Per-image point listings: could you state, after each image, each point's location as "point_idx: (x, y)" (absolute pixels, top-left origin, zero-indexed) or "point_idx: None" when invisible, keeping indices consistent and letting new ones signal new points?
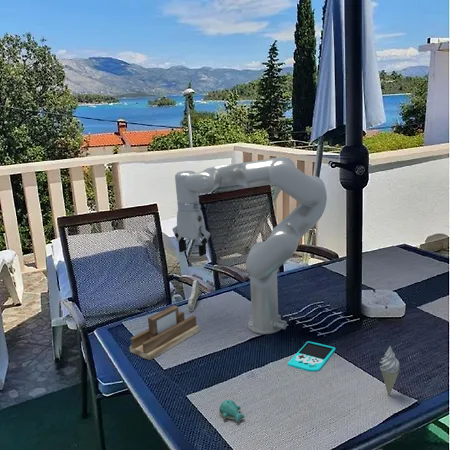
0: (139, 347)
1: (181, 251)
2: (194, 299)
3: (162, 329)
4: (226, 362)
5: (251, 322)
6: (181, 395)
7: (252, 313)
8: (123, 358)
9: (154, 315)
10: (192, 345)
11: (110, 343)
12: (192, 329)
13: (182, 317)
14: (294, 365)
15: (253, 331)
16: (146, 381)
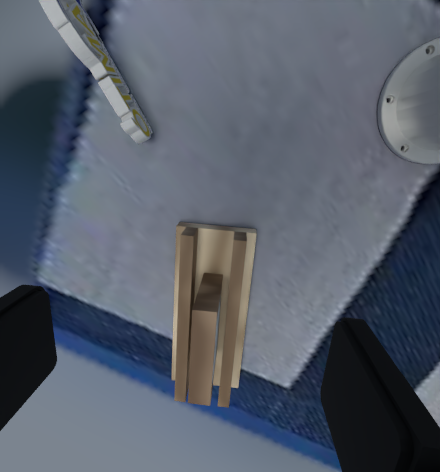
0: None
1: (53, 362)
2: (120, 86)
3: (216, 346)
4: (403, 319)
5: (393, 121)
6: None
7: (435, 138)
8: None
9: (193, 384)
10: (284, 294)
11: (109, 362)
12: (251, 257)
13: (195, 239)
14: None
15: (414, 162)
16: (283, 425)
